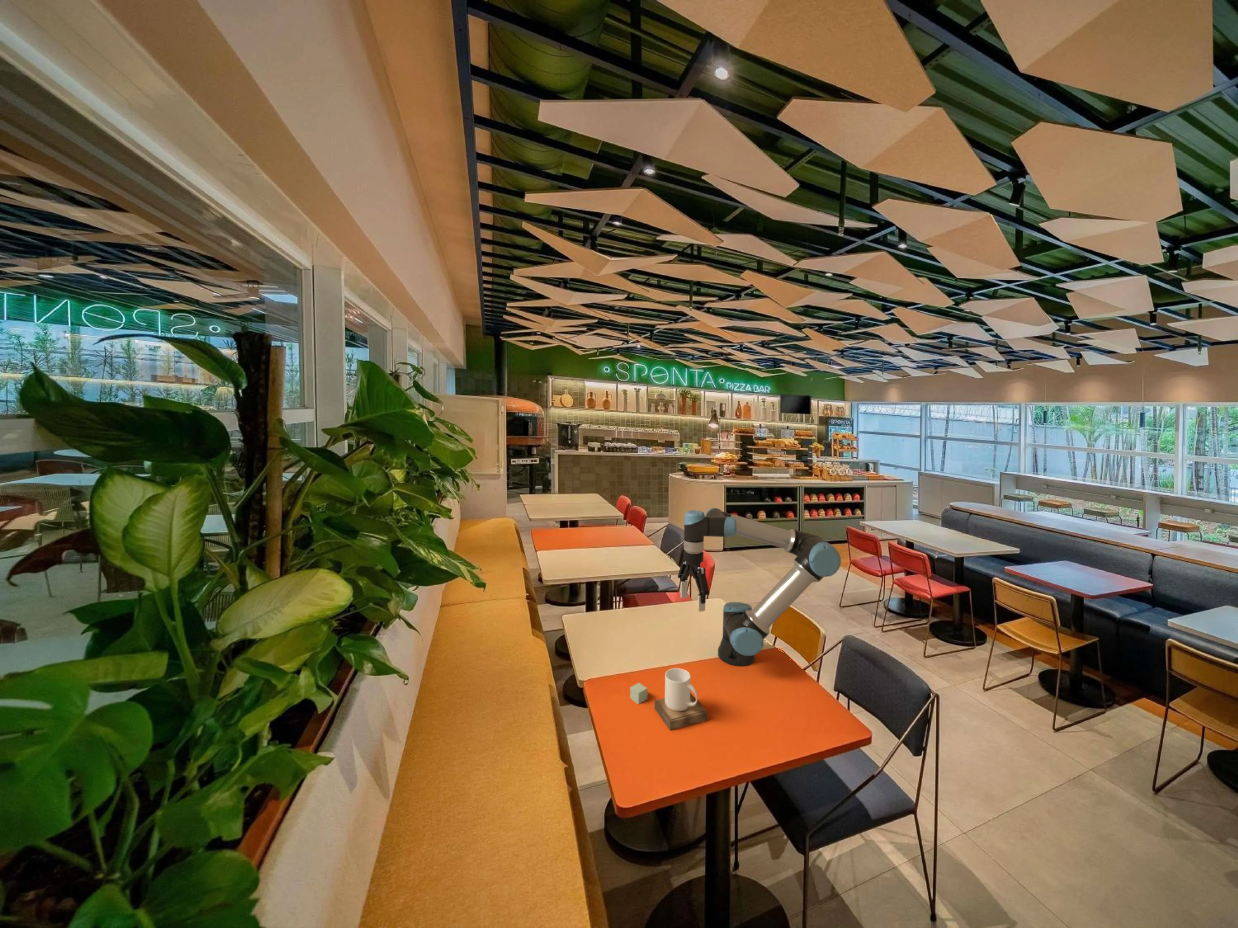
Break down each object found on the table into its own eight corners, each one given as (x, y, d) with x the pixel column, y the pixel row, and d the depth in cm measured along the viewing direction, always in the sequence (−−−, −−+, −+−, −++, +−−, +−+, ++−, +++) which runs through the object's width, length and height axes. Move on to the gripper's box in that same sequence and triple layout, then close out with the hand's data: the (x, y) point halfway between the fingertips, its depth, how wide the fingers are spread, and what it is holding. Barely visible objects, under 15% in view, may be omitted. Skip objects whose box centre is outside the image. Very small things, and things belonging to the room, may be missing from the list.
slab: (689, 699, 168) (689, 691, 168) (707, 720, 157) (707, 711, 157) (654, 708, 163) (654, 699, 163) (670, 730, 152) (670, 721, 152)
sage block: (638, 693, 172) (639, 682, 171) (647, 699, 169) (647, 687, 168) (630, 698, 169) (630, 687, 168) (638, 704, 166) (638, 692, 165)
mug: (689, 719, 152) (690, 689, 151) (659, 704, 160) (660, 675, 159) (703, 707, 159) (704, 677, 158) (673, 693, 167) (674, 665, 165)
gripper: (670, 543, 190) (669, 593, 192) (701, 561, 166) (700, 618, 169) (686, 541, 192) (685, 590, 195) (719, 559, 169) (718, 615, 172)
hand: (692, 603), depth 182 cm, fingers open, 13 cm apart
